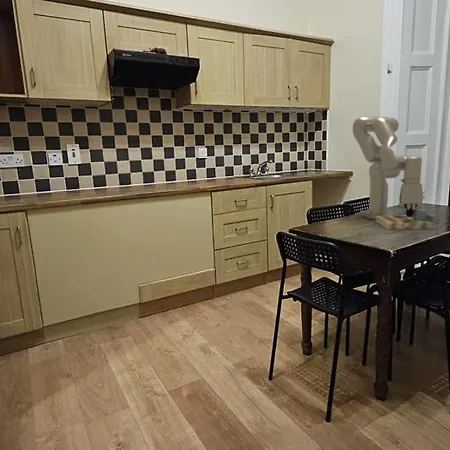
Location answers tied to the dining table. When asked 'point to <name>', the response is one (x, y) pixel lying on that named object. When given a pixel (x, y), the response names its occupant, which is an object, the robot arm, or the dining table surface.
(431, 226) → the board
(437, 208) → the dining table surface
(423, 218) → the block
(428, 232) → the dining table surface
